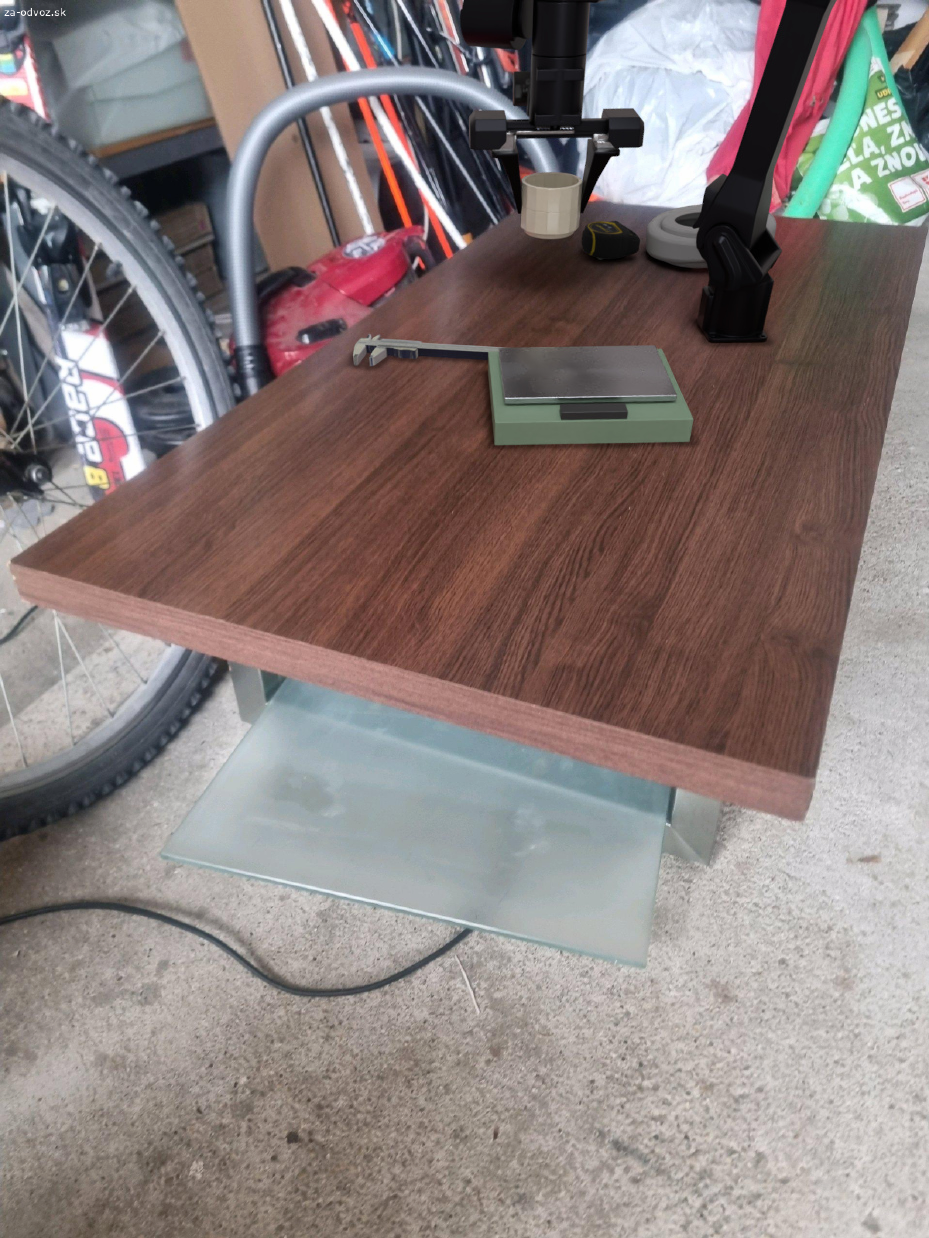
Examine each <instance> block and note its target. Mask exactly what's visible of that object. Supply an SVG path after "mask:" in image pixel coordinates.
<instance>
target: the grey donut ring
mask: <svg viewBox="0 0 929 1238" xmlns="http://www.w3.org/2000/svg"><path fill="white" fill-rule="evenodd" d="M701 209H702V203H699V204H692V205H685V206H681V207H676V208H671V209H669V210H667V211H664V212H661V213H659V214H658V215H656V216H655V217H653V218H652V219H651V220H650V221H649V222H648V224H647V227H646V234H645V235H646V236H645V250H646V253H647V254H648V255H650V257H651V258H653V259H656V260H657V261H661V262H665V263H667V264H670V265H672V266H676V267H680V268H681V267H682V268H691V269H708V268H707V262H706V261H705V260H704V259H703V258H702V257H701V255H700V253H699V251H698V249H697V248H696V236H697V232H698V230H699V228H696V229H693V225H694V224H695V222H696V221H697V220H698V218H699V215H700V213H701ZM766 227H767V228H768V230H769V231H770V233H771V234H772V236H773V237H774V239H776V231H777V221H776V218H775V216H774V215H773V214H772V213H771V212H769V215H768V220H767V225H766Z"/></svg>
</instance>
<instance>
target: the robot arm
mask: <svg viewBox="0 0 929 1238" xmlns="http://www.w3.org/2000/svg"><path fill="white" fill-rule="evenodd" d="M604 1H606V0H463V1H462V4H461V5H462V6H461V8H460V10H459V24H460V31H461V35H462V38H463V40H464V42H465V44H466V45H467V46H469V47H472V48H473V47H475V48H485V49H486V48H488V49H498V50H499V49H500V50H501V49H502V50H513V51H519V50H521V49H522V48H523V47H524V45H525V44H526V43H527V42H526V41H527V40H529V39H531V54H530V55H531V57H530V58H531V59H530V71H529V70H523V71H522V70H521V71H519V70H518V71H517V70H516V71H515V70H514V71H513V73H512V107H526V115H527V117H528V118H517V119H514V118H513V119H510V118H509V119H508V118H507V116H506V115H507V114H506V111H505V110H504V109H488V110H487V109H485V110H483V109H481V110H476V109H475V110H473V111H472V112H471V114H470V115H469V117H468V128H469V129H468V132H469V133H468V135H469V136H468V139H469V150H473V151H489V152H490V157H491V158H492V159H500V161H501V163H502V166H503V168H504V172H505V173H506V176H507V178H508V181H509V184H510V187H511V192H512V197H513V200H514V205H515V207H516V212H517V214H518V215H520V214H521V211H522V194H521V182H522V180H521V170H520V158H519V151H518V147H517V140H525V139H526V140H528V139H529V140H533V139H534V140H535V139H536V140H537V139H587V140H586V142H587V143H586V156H585V163H584V169H583V175H582V178H581V179H582V195H581V207H580V214H584V212H585V210H586V208H587V206H588V204H589V201H590V198H591V196H592V195H593V192H594V190H595V187H596V186H597V183H598V180H599V179H600V177H601V175H602V174H603V172H604V171H605V168H606V167H607V165H608V163H609V162H610V160H611V158H613V157H614V158H615V157H616V158H617V157H619V156H621V150H620V149H636V148H637V149H638V148H639V149H640V148H643V146H644V136H645V121H644V120H643V119H642V117H641V116H640V114H639V113H638V112H637V111H636V110H635V108H634V107H629V108H628V107H625V108H623V107H621V108H617V107H616V108H602V112H601V117H586V118H585V117H584V118H583V107H584V94H585V82H586V81H585V80H586V66H587V53H588V39H589V23H590V10H591V4H598V3H600V2H604ZM837 2H838V0H785V5H784V8H783V11H782V13H781V14H782V15H781V17H780V20H779V24H778V27H777V30H776V32H775V36H774V38H773V42H772V44H771V48H770V51H769V54H768V57H767V60H766V64H765V67H764V69H763V72H762V74H761V78H760V81H759V85H758V87H757V92H756V94H755V97H754V99H753V103H752V106H751V109H750V112H749V116H748V119H747V121H746V124H745V128H744V129H743V130H744V131H743V133H742V137H741V139H740V142H739V146H738V148H737V152H736V154H735V158H734V161H733V164H732V166H731V169H730V171H729V172H728V174H725V173H721V174H720V175H719V176H717V177H716V178H715V179H714V180H713V181H712V182H711V183H709V184H708V185H707V186H706V187H705V189H704V193H703V197H702V203H701V204H702V209H701V213H700V215H699V218H698V220H697V221H696V222H695V224H694V225H693V229H696V228H699V230H698V232H697V236H696V248H697V249H698V251H699V253H700V255H701V257H702V258H703V259H704V260H705V261H706V262H707V268H706V269H707V273H708V282H707V283H708V284H707V285H704V286H703V287H702V289H701V296H700V301H699V307H698V308H699V309H698V313H697V319H696V323H697V324H698V326H699V327H700V329H701V331H702V333H703V334H704V336H705V339H707V341H708V342H709V343H759V342H760V343H761V342H762V343H763V342H767V341H768V335H767V334H766V332H765V330H764V328H765V324H766V319H767V316H768V310H769V306H770V302H771V299H772V298H771V297H772V293H773V288H774V285H775V284H774V283H775V279H774V278H773V277H772V276H771V274H770V273H769V271H770V270H771V269H773V267H774V265H775V264H776V262H777V261H778V259H779V257H780V256H781V254H782V252H783V250H782V247H781V246H780V245H779V243H778V242H777V240H776V238H774V237H773V236H772V234H771V233H770V231H769V230H768V228H767V227H766V225H767V220H768V215H769V213H770V209H771V203H772V198H773V185H774V174H775V168H776V166H777V163H778V160H779V158H780V154H781V152H782V149H783V146H784V143H785V140H786V138H787V134H788V132H789V129H790V127H791V124H792V121H793V118H794V115H795V112H796V111H797V107H798V105H799V101H800V99H801V96H802V94H803V91H804V88H805V85H806V83H807V79H808V77H809V74H810V71H811V68H812V66H813V63H814V61H815V57H816V55H817V52H818V49H819V46H820V44H821V41H822V38H823V35H824V33H825V29H826V26H827V24H828V22H829V18H830V16H831V13H832V11H833V9H834V7H835V5H836V3H837Z"/></svg>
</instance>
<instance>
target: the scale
mask: <svg viewBox="0 0 929 1238" xmlns="http://www.w3.org/2000/svg"><path fill="white" fill-rule="evenodd" d="M657 351H658V353H659V355H660V357H661V360H662V362H663V364H664V367H665V369H666V371H667V373H668V376H669V378H670V380H671V383H672V385H673V387H674V389H675V392H676V394H677V400H676V401H640V402H582V403H523V404H504V397H503V388H502V379H501V371H500V362H499V353H498V352H488V360H487V376H488V387H489V388H488V390H489V398H490V399H489V400H490V410H491V422H492V431H493V442H494V443H493V444H494V446H518V445H519V446H523V445H524V446H525V445H526V446H527V445H531V446H532V445H581V444H584V445H586V444H587V445H588V444H636V443H637V444H639V443H641V444H642V443H643V444H644V443H645V444H646V443H689V442H690V441H691V435H692V430H693V424H694V417H693V415H692V412H691V411H690V408H689V406H688V404H687V401H686V399H685V397H684V394H683V393H682V391H681V389H680V386H679V384H678V381H677V380H676V377H675V375H674V372H673V370H672V368H671V366H670V364H669V362H668V360H667V359H668V358H667V357H666V355H665V353H664V350H663V349H662V348H657Z"/></svg>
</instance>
